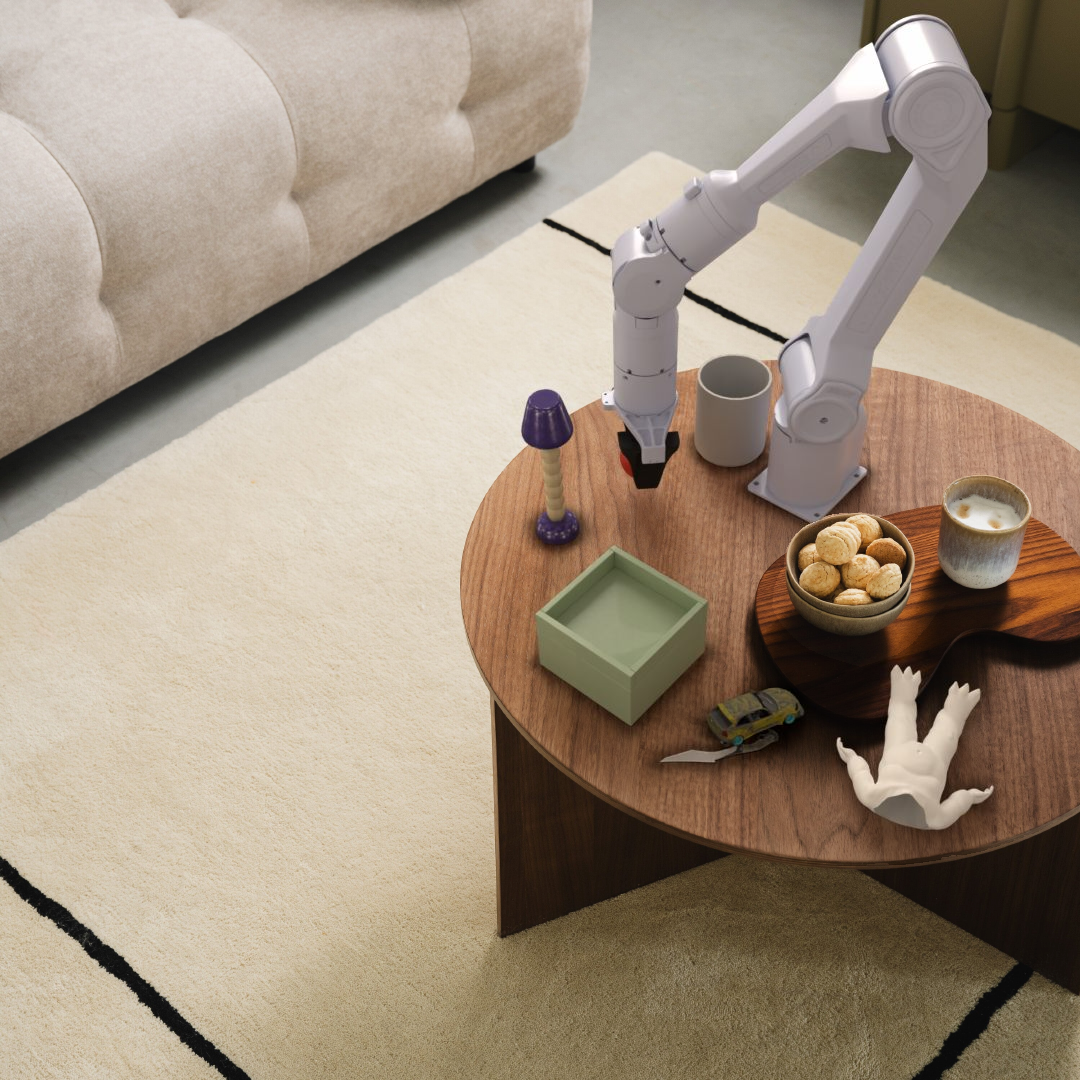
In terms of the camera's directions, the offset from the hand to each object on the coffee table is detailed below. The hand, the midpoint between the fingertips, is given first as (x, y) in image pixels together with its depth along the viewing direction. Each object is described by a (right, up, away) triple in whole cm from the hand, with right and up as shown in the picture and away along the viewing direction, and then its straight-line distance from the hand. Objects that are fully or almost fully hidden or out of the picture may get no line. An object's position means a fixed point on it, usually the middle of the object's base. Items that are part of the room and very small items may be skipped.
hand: (644, 468), depth 113 cm
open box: (-3, -17, -12) cm, 21 cm away
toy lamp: (-9, -6, -1) cm, 11 cm away
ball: (0, +1, -1) cm, 2 cm away
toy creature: (+22, -20, -19) cm, 35 cm away
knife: (+5, -22, -17) cm, 28 cm away
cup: (+9, +4, +7) cm, 12 cm away
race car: (+8, -22, -18) cm, 29 cm away
